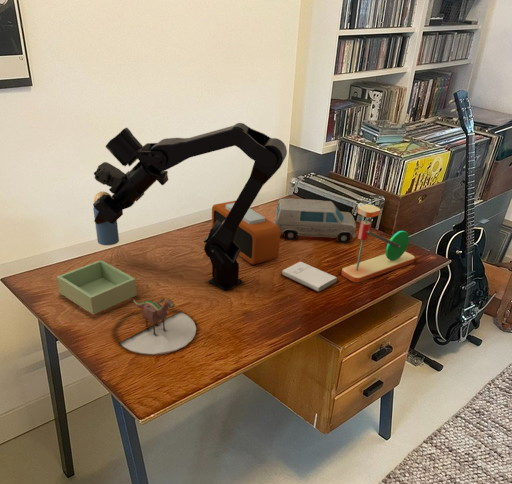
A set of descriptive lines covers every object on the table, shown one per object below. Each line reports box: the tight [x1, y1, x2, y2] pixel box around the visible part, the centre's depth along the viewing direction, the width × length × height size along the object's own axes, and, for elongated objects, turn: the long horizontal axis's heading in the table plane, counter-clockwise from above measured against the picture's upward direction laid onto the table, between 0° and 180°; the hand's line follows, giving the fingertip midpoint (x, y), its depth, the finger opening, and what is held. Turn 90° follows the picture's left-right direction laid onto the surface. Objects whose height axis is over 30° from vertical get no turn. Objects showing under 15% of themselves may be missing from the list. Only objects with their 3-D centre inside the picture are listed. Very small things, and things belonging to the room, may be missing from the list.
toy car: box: [273, 198, 357, 244], centre depth 162 cm, size 11×25×10 cm, turn 90°
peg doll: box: [92, 191, 120, 246], centre depth 133 cm, size 5×5×13 cm
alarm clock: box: [211, 200, 281, 265], centre depth 152 cm, size 24×8×11 cm, turn 34°
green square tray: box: [56, 259, 138, 315], centre depth 127 cm, size 14×13×6 cm
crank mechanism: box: [340, 203, 416, 283], centre depth 144 cm, size 25×7×19 cm, turn 126°
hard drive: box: [281, 261, 338, 293], centre depth 142 cm, size 2×8×12 cm
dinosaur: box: [118, 298, 197, 356], centre depth 115 cm, size 18×18×11 cm
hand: (100, 218), depth 134 cm, fingers closed on peg doll, 5 cm apart
